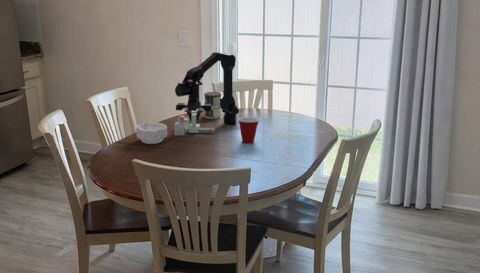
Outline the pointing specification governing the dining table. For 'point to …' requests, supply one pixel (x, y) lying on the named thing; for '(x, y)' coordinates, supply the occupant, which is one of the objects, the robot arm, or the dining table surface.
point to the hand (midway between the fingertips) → (194, 122)
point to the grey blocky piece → (181, 127)
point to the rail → (204, 130)
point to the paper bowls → (151, 132)
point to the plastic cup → (248, 129)
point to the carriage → (194, 124)
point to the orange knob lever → (181, 118)
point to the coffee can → (213, 104)
